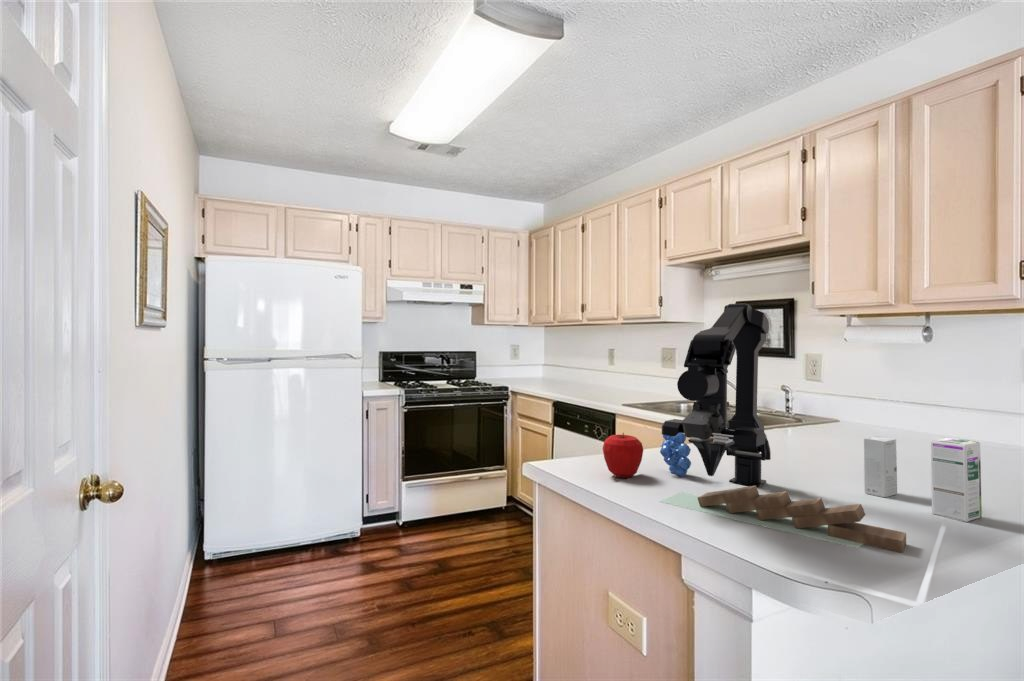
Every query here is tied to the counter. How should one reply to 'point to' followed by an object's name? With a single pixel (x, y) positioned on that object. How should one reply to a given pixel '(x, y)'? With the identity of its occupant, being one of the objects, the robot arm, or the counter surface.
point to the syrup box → (956, 479)
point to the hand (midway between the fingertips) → (711, 475)
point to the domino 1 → (728, 496)
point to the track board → (755, 518)
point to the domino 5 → (869, 535)
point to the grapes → (676, 454)
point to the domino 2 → (760, 502)
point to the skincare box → (880, 466)
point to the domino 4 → (831, 516)
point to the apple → (622, 455)
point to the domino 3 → (793, 509)
